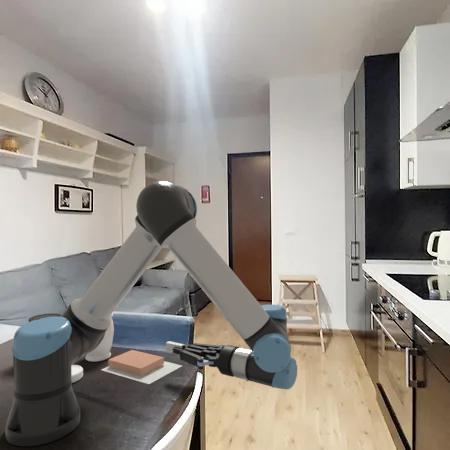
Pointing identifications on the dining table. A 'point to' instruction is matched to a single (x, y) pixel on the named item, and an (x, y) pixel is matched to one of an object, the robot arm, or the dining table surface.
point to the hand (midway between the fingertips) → (167, 346)
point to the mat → (149, 376)
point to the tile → (136, 362)
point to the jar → (103, 346)
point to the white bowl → (76, 373)
